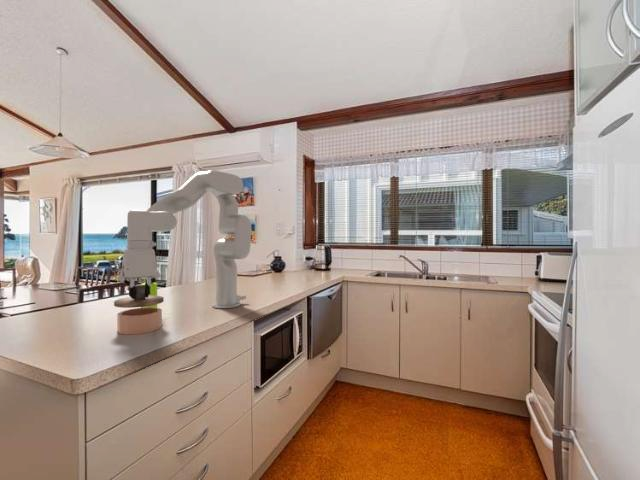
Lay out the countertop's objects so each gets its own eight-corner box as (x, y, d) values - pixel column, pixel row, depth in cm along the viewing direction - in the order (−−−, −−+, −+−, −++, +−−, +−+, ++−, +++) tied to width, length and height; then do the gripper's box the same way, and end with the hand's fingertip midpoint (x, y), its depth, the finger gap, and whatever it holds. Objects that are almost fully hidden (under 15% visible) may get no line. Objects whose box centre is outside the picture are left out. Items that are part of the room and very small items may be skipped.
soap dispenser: (161, 313, 130) (161, 266, 130) (151, 317, 123) (151, 267, 123) (148, 312, 130) (148, 265, 130) (137, 317, 123) (137, 267, 123)
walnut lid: (158, 297, 118) (158, 281, 118) (168, 303, 107) (168, 285, 107) (111, 302, 109) (111, 284, 109) (116, 309, 97) (116, 290, 97)
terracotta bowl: (154, 321, 117) (154, 305, 117) (166, 328, 108) (166, 311, 108) (114, 328, 108) (114, 311, 108) (123, 337, 99) (123, 318, 99)
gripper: (161, 245, 116) (161, 293, 116) (109, 245, 105) (109, 299, 105) (168, 245, 111) (168, 296, 111) (114, 246, 99) (114, 302, 99)
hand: (139, 297), depth 108 cm, fingers closed on walnut lid, 3 cm apart
